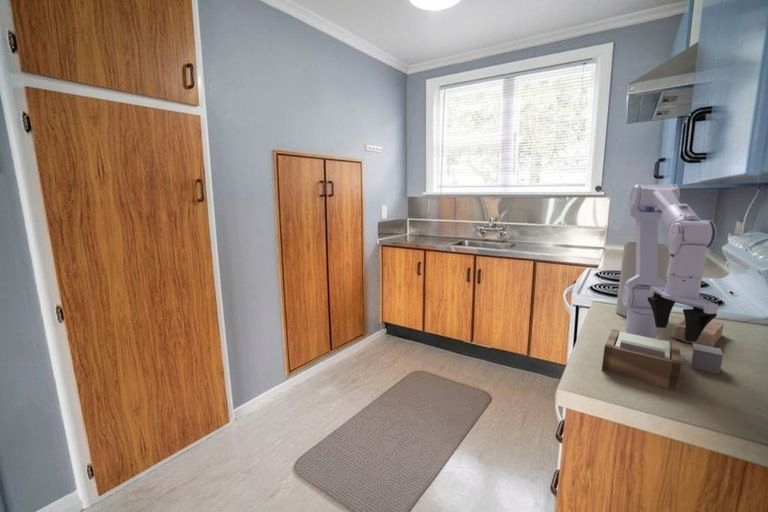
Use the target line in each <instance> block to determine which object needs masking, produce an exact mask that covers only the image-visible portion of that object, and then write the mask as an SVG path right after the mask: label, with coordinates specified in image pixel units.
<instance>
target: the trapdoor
mask: <svg viewBox="0 0 768 512" xmlns="http://www.w3.org/2000/svg"><path fill="white" fill-rule="evenodd" d="M615 346H616V347H620V348H625V349H629V350H633V351H637V352H642V353H646V354H650V355H655V356H659V357H663V358H668V359H670V347H671V342H670V341H668V340H661V339H659V338H658V339H653V338H648V337H644V336H639V335H634V334H629V333H624V331H619V335H618V340H617V342H616V345H615Z"/></svg>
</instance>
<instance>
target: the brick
mask: <svg viewBox="0 0 768 512" xmlns="http://www.w3.org/2000/svg"><path fill="white" fill-rule="evenodd" d="M685 327H686V323H685V319H683V321H681V322H680V323H678V324H676V325H675V326H674V339H676V340H679V341H681V342H683V343H684V342H685V343H689V344H693V343H695V344H700V345H705V346H710V347H715V346H716V344H717V342H719V341H718V340H719V339H720V338H721V337H722V335H723V330H724V323H723V322H720V321H718V320H714V319H712V320H711V321H710V322H709V323H708V324H707V325H706V327H705V328H704V329H703V331H702V332H701V334H700V336H699V338H698V339H697V341H686V340H685Z"/></svg>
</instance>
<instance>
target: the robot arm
mask: <svg viewBox="0 0 768 512" xmlns="http://www.w3.org/2000/svg"><path fill="white" fill-rule="evenodd" d="M680 197H681V190H680V187H679V186H678V184H676V183H672V184H635V185H634V186H633V187H632V188H631V191H630V194H629V203H628V204H629V205H628V206H629V216H630V217H633V218H634V219H635V225H636V235H635V236H636V239H635V240H636V241H635V242H636V276H634V277H632V278H631V279H629V280H627V281H626V282H625V284H624V289H623V293H622V302H623V305H624V306H625V307H626V308H628V312H627V317H626V321H625V327H624V328H625V329H624V331H623V332H624V333H629V334H634V335H639V336H644V337H648V338H653V339H658V340H659V337H658V330H659V329H663V328H664V329H666V328H667V327H668V323H669V319H670V315H671V312H672V310H673V307H674V306H675V305H676V303H679V304H681V305H685V306H687V307H690V308H684V309H682V312H683V315H684V320H685V323H686V327H685V340H686V341H697V339H698V338H699V336H700V334H701V332H702V331H703V329H704V328H705V327H706V325H707V324H708V323H709V322H710V321H711V320H714V319H715V318H716V317H717V315H718V310H719V304H717V303H715V302H712V301H710V300H707V299H706V298H704V297H701V296H700V292H701V291H700V290H701V286H702V279H703V274H704V269H705V262H706V257H707V252H708V248H711V247H713V245H714V243H715V242H716V238H717V231H718V230H717V227H716V224H715V223H714V221H713V220H710V219H708V220H707V219H706V220H705V219H701V218H700V217H699V216H698V215H697V214H696V212H695V211H694V210H693V209H692V208H691V207H690V206H689V205H688V203H681V202H680V201H679V200H680ZM660 220H662V223H663V224H664V225H665V227H666V229H667V230H668V234H667V235H668V236H667V237H668V243H669V244H668V245H669V253H670V258H669V264H668V271H667V278H666V282H664V281H663V280H662V279H660V278H659V277H658V244H659V243H658V242H659V241H658V239H659V236H658V234H659V227H658V226H659V221H660ZM633 286H640V287H633ZM642 287H650V288H642Z"/></svg>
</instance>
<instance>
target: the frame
mask: <svg viewBox="0 0 768 512" xmlns="http://www.w3.org/2000/svg"><path fill="white" fill-rule="evenodd" d="M619 334H620V330H619V329H614V328H612V329H611V331H610V333H609V336H608V338H607V340H606V343H605V345H604V348H603V358H602V364H601V365H602V366H601V371H603V372H606V373H611V374H613V375H618V376H620V377H626V378H628V379H632V380H635V381H639V382H643V383H646V384H647V383H648V384H651V385H654V386H658V387H661V388H665V389H669V390H673V391H676V392H677V391H678V387H679V383H680V382H679V380H680V374H681V370H682V369H681V368H682V357H681V343H680V342H678V341H674V340H673V341H671V342H670V359H668V358H663V357H659V356H655V355H650V354H646V353H642V352H637V351H633V350H629V349H625V348H620V347H616V346H615V345H616V342H617V340H618V337H619Z"/></svg>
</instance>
